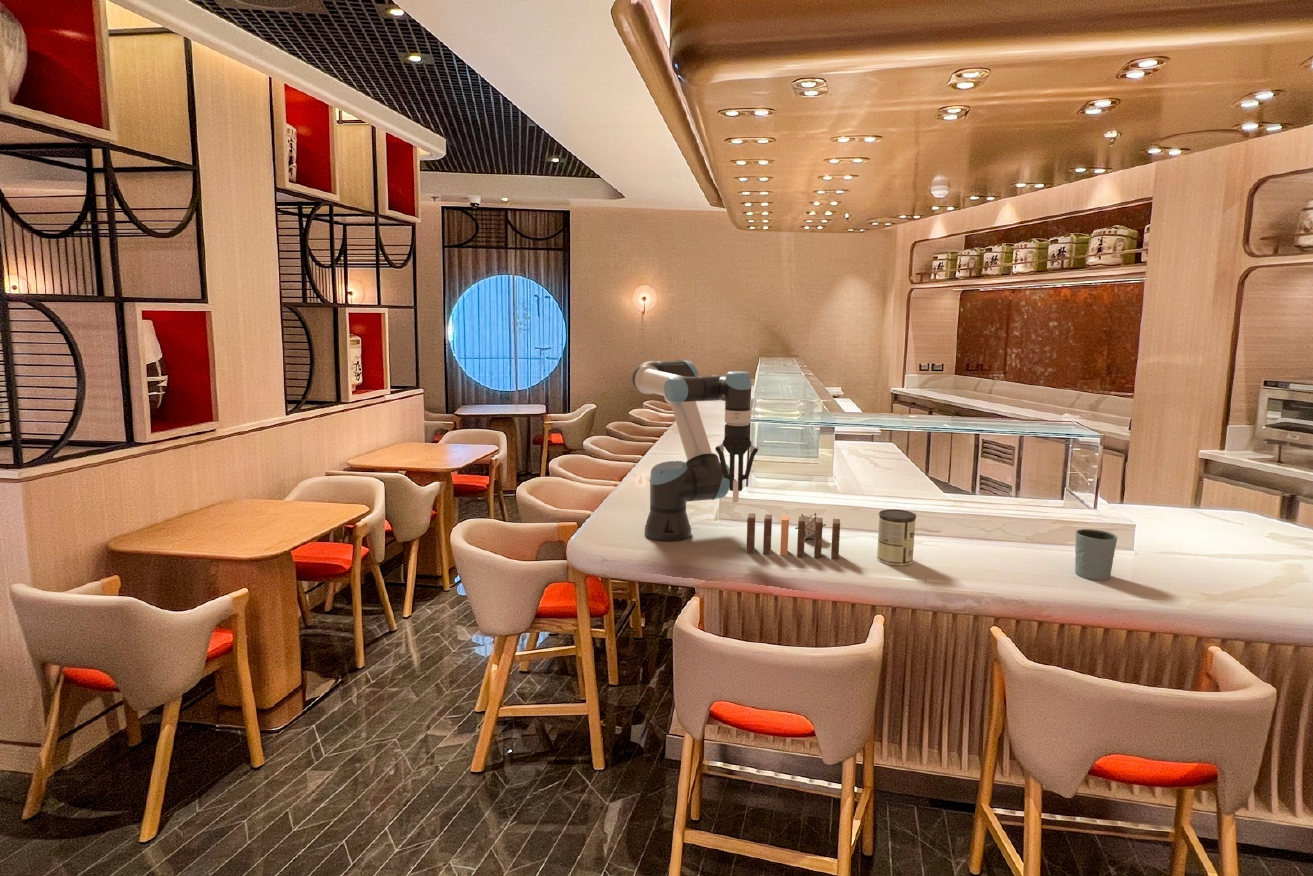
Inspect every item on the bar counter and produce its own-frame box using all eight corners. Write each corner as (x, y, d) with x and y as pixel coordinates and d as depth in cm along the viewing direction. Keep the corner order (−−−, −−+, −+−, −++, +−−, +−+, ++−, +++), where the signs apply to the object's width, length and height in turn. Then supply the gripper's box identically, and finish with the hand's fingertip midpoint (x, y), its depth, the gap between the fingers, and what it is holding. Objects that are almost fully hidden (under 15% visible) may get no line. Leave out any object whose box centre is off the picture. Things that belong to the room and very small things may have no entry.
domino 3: (780, 555, 227) (781, 519, 225) (780, 550, 232) (782, 515, 230) (786, 555, 227) (788, 520, 225) (787, 550, 231) (789, 515, 230)
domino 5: (814, 558, 225) (815, 522, 223) (814, 552, 230) (815, 517, 228) (820, 558, 225) (822, 522, 223) (820, 553, 229) (822, 517, 228)
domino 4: (796, 556, 226) (798, 520, 224) (797, 551, 231) (798, 516, 229) (803, 557, 226) (805, 521, 224) (804, 551, 230) (805, 516, 229)
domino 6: (831, 559, 224) (833, 523, 222) (831, 553, 229) (832, 518, 227) (838, 559, 224) (840, 523, 222) (837, 554, 228) (839, 519, 227)
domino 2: (763, 554, 228) (764, 518, 226) (764, 549, 233) (765, 514, 231) (769, 554, 228) (771, 519, 226) (770, 549, 233) (772, 514, 231)
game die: (814, 551, 243) (825, 532, 236) (789, 540, 244) (800, 521, 237) (820, 531, 249) (831, 512, 242) (796, 521, 250) (806, 502, 243)
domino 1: (746, 552, 229) (747, 517, 227) (747, 547, 234) (748, 513, 232) (753, 553, 229) (754, 518, 227) (754, 548, 234) (755, 513, 232)
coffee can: (877, 552, 230) (880, 507, 228) (913, 556, 227) (916, 511, 224) (875, 563, 221) (878, 516, 218) (912, 567, 217) (916, 520, 215)
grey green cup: (1095, 583, 206) (1100, 541, 204) (1062, 571, 215) (1067, 530, 213) (1121, 578, 210) (1126, 536, 208) (1087, 567, 219) (1092, 526, 217)
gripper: (713, 424, 223) (712, 503, 227) (758, 426, 221) (756, 505, 225) (717, 421, 230) (715, 497, 234) (760, 422, 228) (758, 499, 232)
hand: (735, 501), depth 229 cm, fingers closed
